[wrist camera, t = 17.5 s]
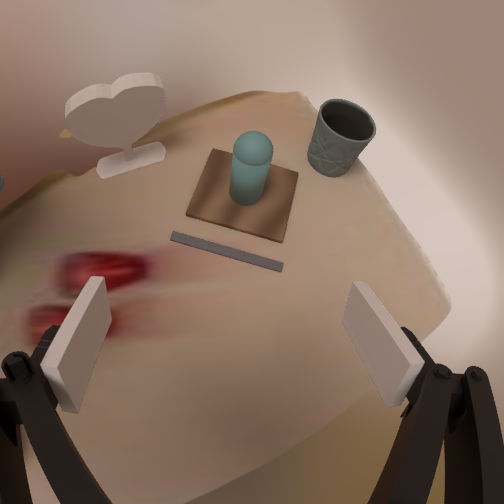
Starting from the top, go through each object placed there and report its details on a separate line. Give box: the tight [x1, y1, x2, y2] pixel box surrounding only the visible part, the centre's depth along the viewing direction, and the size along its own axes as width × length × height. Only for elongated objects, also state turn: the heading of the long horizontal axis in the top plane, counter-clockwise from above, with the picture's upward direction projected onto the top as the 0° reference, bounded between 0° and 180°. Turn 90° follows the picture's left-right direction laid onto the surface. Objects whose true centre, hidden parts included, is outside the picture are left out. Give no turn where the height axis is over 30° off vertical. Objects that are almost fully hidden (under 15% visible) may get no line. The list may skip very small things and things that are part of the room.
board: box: [186, 149, 298, 243], centre depth 53 cm, size 16×14×1 cm
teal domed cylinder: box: [229, 131, 273, 206], centre depth 46 cm, size 6×6×14 cm
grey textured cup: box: [308, 99, 376, 177], centre depth 53 cm, size 10×10×12 cm
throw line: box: [170, 231, 283, 272], centre depth 49 cm, size 18×2×1 cm, turn 75°
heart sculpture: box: [65, 73, 167, 179], centre depth 45 cm, size 16×5×18 cm, turn 111°
